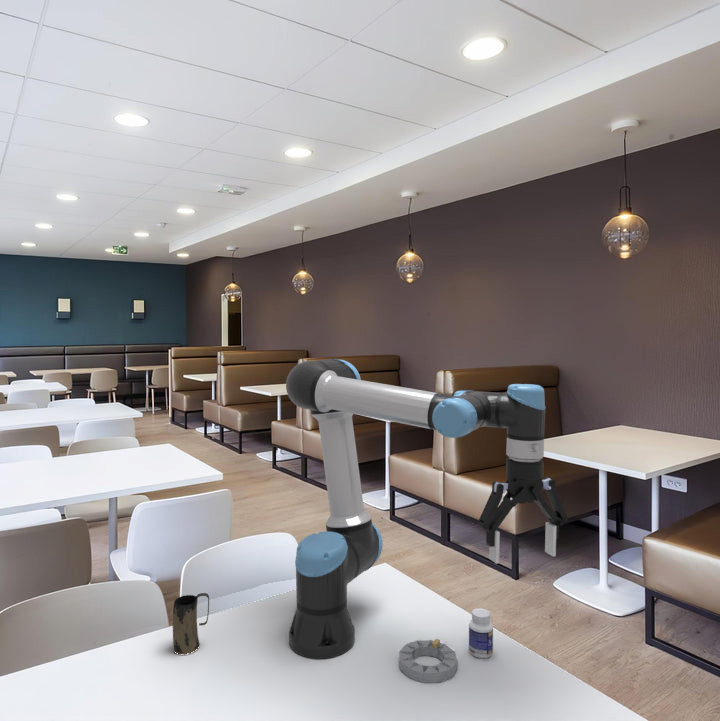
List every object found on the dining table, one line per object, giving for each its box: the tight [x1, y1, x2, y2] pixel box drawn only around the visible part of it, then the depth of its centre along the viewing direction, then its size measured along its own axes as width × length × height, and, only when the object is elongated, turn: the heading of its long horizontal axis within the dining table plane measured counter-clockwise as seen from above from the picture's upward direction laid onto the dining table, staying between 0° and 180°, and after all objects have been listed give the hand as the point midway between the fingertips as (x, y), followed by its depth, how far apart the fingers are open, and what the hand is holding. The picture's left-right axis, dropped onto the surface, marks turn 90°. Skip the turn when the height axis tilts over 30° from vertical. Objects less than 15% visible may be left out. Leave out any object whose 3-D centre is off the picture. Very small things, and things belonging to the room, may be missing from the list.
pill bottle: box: [468, 608, 494, 659], centre depth 121 cm, size 5×5×9 cm
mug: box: [172, 592, 210, 654], centre depth 123 cm, size 8×6×12 cm
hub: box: [398, 638, 458, 684], centre depth 117 cm, size 12×12×3 cm
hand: (522, 557), depth 116 cm, fingers open, 13 cm apart
